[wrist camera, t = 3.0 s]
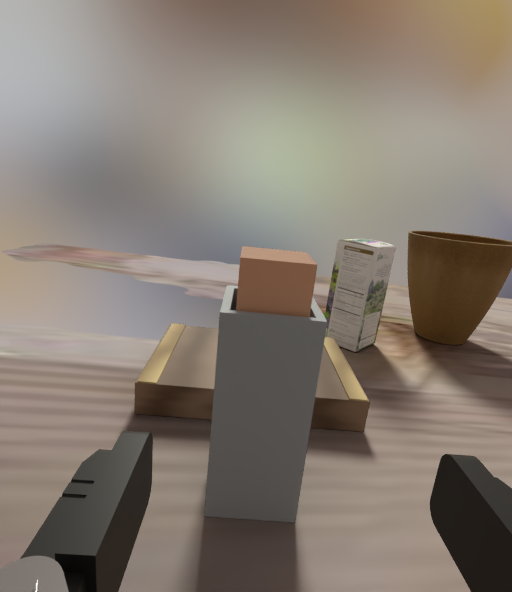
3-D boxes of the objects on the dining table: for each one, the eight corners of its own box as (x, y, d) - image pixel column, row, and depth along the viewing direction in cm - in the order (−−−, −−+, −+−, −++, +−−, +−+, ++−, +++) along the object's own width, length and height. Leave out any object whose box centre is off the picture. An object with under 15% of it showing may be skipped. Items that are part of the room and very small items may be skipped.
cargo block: (234, 329, 20) (240, 257, 19) (237, 307, 24) (242, 246, 23) (306, 336, 20) (317, 264, 19) (298, 313, 24) (306, 252, 23)
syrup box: (340, 331, 57) (357, 237, 53) (376, 344, 53) (397, 243, 49) (320, 339, 53) (336, 237, 49) (357, 354, 49) (377, 245, 45)
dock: (134, 413, 32) (135, 380, 31) (169, 347, 45) (170, 323, 44) (363, 431, 32) (370, 400, 32) (331, 361, 46) (334, 337, 45)
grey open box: (204, 516, 23) (219, 312, 19) (213, 453, 28) (227, 285, 24) (295, 522, 23) (327, 321, 19) (286, 459, 28) (310, 293, 25)
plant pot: (419, 315, 69) (439, 230, 65) (507, 345, 58) (538, 244, 54) (370, 326, 60) (389, 228, 56) (462, 364, 49) (495, 244, 45)
